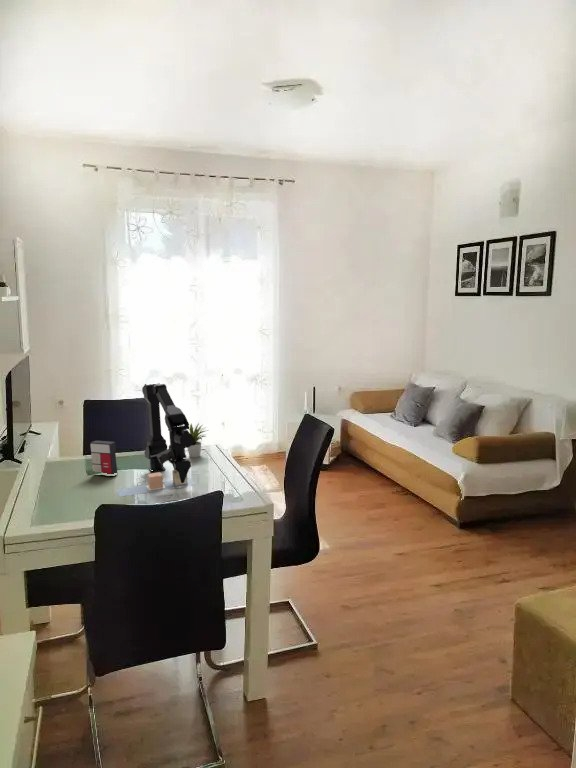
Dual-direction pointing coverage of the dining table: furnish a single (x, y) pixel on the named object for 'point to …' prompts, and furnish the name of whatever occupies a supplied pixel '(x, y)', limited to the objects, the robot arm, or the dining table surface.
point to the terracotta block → (155, 480)
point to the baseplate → (146, 488)
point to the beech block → (178, 478)
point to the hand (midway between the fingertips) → (180, 479)
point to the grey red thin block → (103, 456)
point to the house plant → (195, 441)
